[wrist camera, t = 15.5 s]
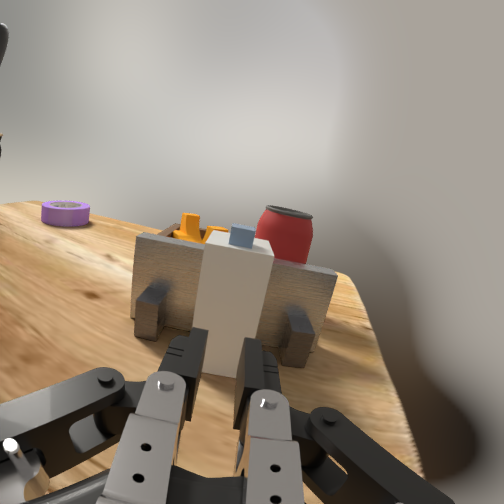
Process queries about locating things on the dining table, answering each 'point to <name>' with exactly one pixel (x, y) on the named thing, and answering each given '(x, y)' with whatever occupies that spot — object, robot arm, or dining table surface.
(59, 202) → the masking tape
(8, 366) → the dining table surface
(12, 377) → the dining table surface
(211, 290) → the white rectangular block
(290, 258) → the beer can
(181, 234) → the pipe clamp
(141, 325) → the rail
